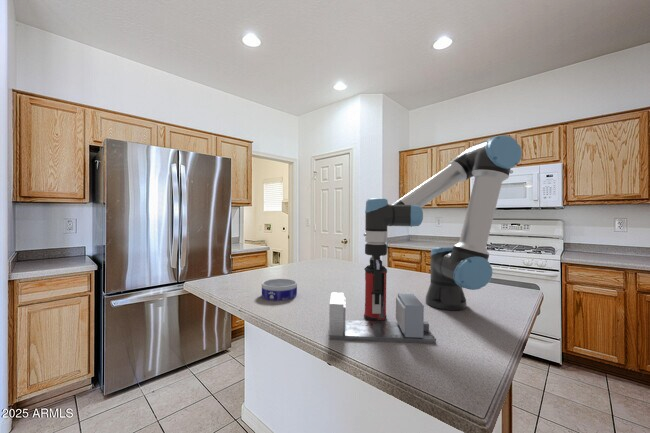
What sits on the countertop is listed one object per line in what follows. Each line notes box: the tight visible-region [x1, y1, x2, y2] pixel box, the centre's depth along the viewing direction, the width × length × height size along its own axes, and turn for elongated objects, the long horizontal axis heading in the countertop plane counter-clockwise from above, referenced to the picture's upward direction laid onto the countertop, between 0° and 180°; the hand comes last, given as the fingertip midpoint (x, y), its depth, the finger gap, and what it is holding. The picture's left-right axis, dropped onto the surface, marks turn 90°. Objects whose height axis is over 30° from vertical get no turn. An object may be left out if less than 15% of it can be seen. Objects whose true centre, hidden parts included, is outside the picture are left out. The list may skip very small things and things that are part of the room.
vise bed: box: [328, 319, 437, 344], centre depth 87 cm, size 30×12×1 cm, turn 86°
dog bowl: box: [261, 278, 298, 302], centre depth 124 cm, size 15×15×6 cm
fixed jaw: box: [328, 291, 347, 336], centre depth 88 cm, size 5×12×9 cm, turn 176°
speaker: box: [363, 264, 388, 321], centre depth 99 cm, size 8×8×18 cm
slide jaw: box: [395, 292, 430, 338], centre depth 86 cm, size 9×12×9 cm
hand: (375, 309), depth 99 cm, fingers closed on speaker, 7 cm apart
